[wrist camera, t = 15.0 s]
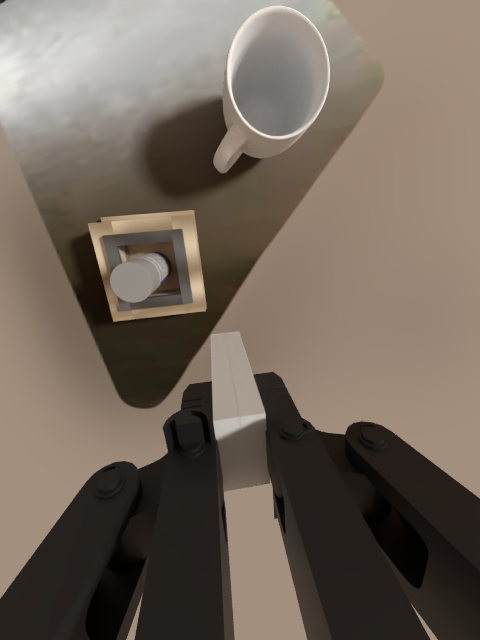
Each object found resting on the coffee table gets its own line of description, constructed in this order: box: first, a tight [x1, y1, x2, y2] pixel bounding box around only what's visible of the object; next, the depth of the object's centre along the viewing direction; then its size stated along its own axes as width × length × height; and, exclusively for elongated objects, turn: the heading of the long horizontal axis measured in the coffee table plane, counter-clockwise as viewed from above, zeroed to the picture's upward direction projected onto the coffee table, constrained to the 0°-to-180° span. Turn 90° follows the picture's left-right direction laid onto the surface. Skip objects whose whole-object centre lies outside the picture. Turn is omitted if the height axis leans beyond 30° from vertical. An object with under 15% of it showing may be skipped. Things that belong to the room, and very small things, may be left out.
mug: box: [213, 6, 330, 173], centre depth 32 cm, size 15×11×13 cm
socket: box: [88, 210, 207, 322], centre depth 40 cm, size 16×14×7 cm
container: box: [110, 252, 171, 303], centre depth 35 cm, size 5×5×15 cm
